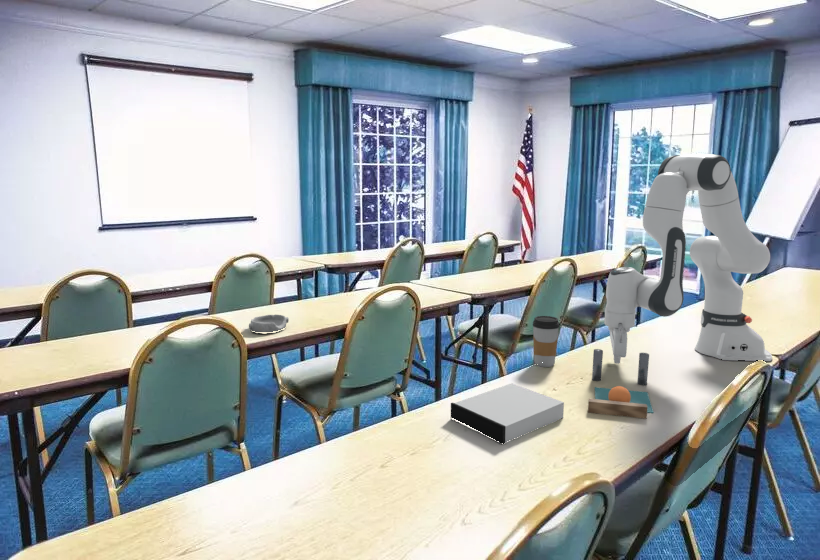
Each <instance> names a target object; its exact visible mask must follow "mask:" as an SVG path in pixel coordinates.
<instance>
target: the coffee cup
mask: <svg viewBox="0 0 820 560" xmlns="http://www.w3.org/2000/svg"><path fill="white" fill-rule="evenodd" d="M532 327H533V328H532V330H533V335H532V336H533V337H532V339H533V341H532V342H533V359H534V360H533V361H534V363H535V365H536V366H537V367H541V368H550V367H554V366H555V363H556V356H557V348H558V341H559V329H560V322H559V318H557V317H555V316H551V315H539V316H535V317H534V319H533V322H532ZM542 362H543V363H542ZM537 364H538V365H537Z"/></svg>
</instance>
